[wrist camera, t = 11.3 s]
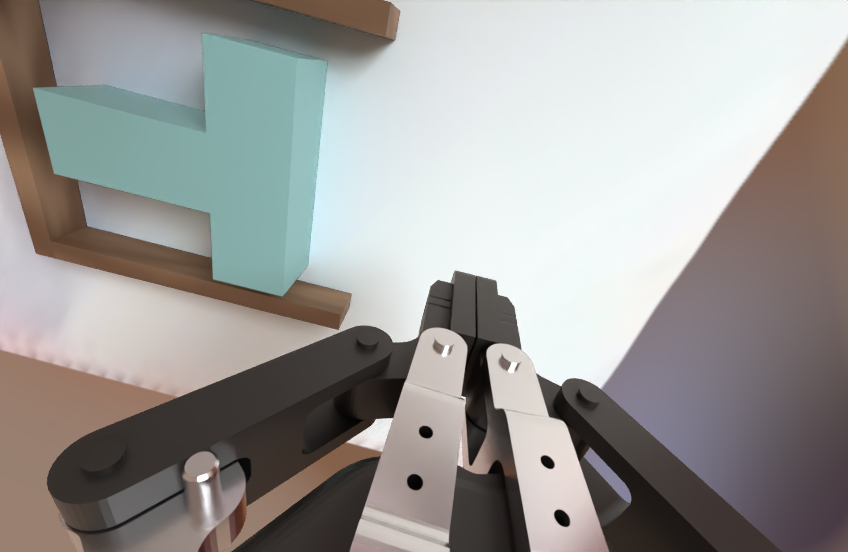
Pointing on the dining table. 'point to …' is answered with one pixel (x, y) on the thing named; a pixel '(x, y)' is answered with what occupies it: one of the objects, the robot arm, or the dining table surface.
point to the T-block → (210, 153)
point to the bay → (59, 196)
